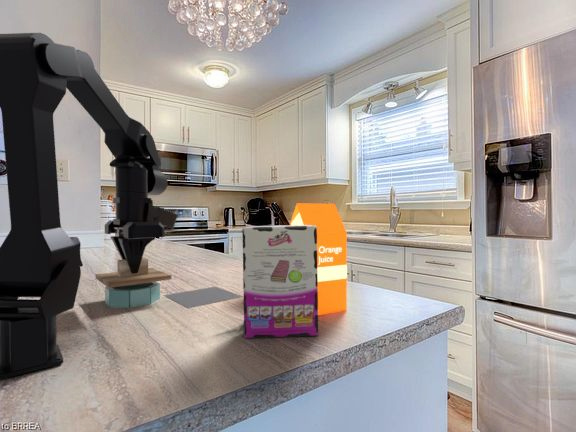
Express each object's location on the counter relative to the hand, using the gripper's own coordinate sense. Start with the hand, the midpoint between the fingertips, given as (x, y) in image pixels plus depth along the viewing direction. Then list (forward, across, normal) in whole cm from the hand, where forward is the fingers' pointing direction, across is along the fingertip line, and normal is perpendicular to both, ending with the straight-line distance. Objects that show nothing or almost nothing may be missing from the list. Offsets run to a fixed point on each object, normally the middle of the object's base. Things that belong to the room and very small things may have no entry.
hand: (132, 272), depth 65 cm
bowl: (+7, 0, 0) cm, 7 cm away
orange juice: (+7, -25, -26) cm, 37 cm away
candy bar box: (+7, -30, -13) cm, 33 cm away
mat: (+7, -6, -12) cm, 15 cm away
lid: (+1, 0, 0) cm, 1 cm away
